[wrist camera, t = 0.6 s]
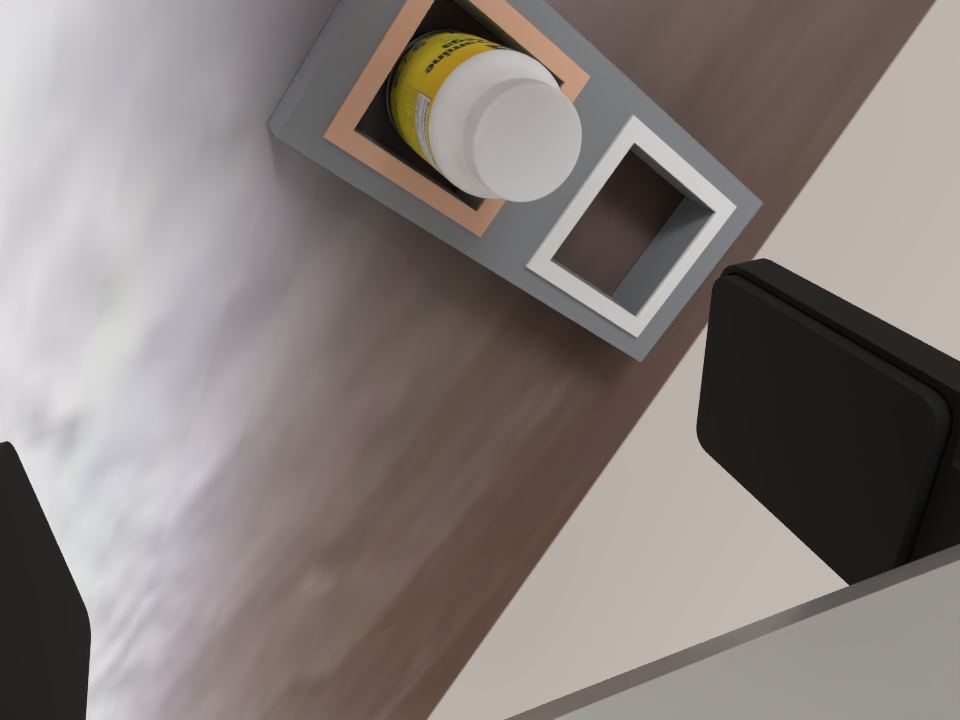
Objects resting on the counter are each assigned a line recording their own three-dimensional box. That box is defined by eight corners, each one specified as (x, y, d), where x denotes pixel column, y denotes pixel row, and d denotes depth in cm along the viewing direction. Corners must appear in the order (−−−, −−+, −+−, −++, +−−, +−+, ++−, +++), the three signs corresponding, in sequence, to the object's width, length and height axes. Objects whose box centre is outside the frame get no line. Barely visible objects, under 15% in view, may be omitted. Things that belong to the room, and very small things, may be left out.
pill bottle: (496, 22, 38) (605, 54, 30) (499, 146, 42) (597, 209, 33) (375, 32, 37) (452, 69, 28) (387, 161, 40) (460, 232, 31)
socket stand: (404, -109, 34) (426, -111, 32) (732, 188, 49) (765, 204, 46) (266, 123, 37) (276, 139, 34) (617, 341, 51) (642, 363, 48)
